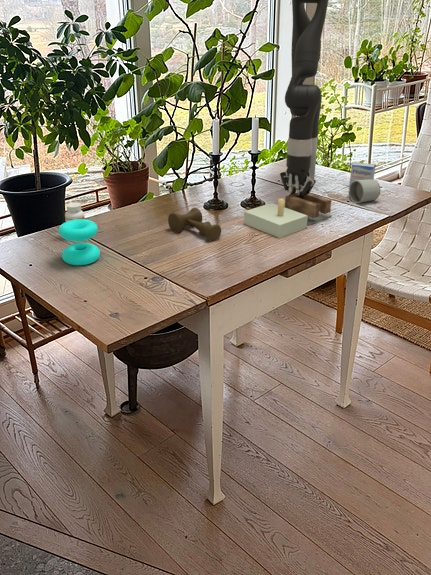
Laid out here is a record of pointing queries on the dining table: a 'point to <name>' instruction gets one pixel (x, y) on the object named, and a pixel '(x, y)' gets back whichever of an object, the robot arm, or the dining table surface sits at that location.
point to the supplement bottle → (74, 212)
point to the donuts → (79, 251)
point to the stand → (275, 219)
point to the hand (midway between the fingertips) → (295, 205)
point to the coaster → (318, 218)
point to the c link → (308, 204)
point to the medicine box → (362, 171)
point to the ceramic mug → (364, 190)
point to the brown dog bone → (194, 224)
